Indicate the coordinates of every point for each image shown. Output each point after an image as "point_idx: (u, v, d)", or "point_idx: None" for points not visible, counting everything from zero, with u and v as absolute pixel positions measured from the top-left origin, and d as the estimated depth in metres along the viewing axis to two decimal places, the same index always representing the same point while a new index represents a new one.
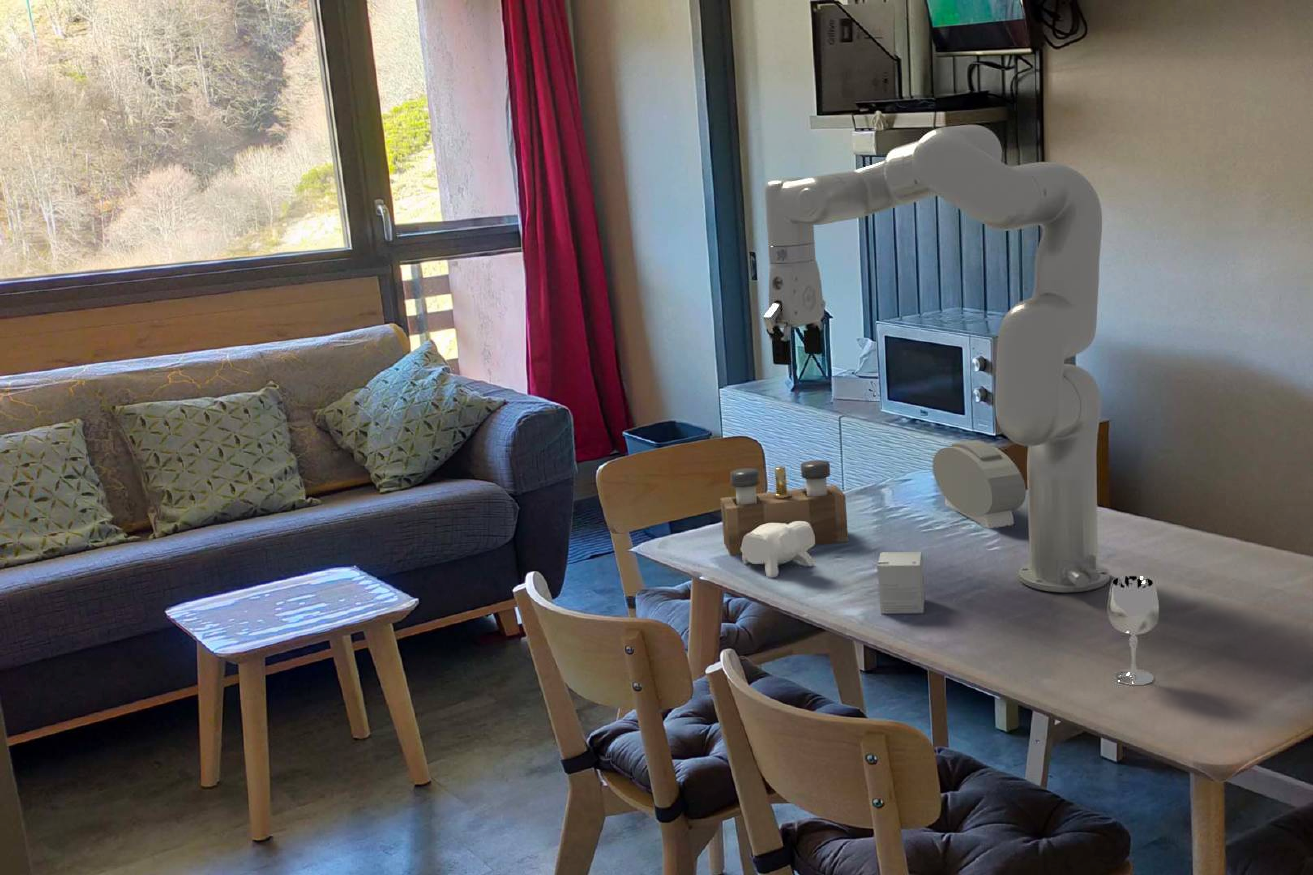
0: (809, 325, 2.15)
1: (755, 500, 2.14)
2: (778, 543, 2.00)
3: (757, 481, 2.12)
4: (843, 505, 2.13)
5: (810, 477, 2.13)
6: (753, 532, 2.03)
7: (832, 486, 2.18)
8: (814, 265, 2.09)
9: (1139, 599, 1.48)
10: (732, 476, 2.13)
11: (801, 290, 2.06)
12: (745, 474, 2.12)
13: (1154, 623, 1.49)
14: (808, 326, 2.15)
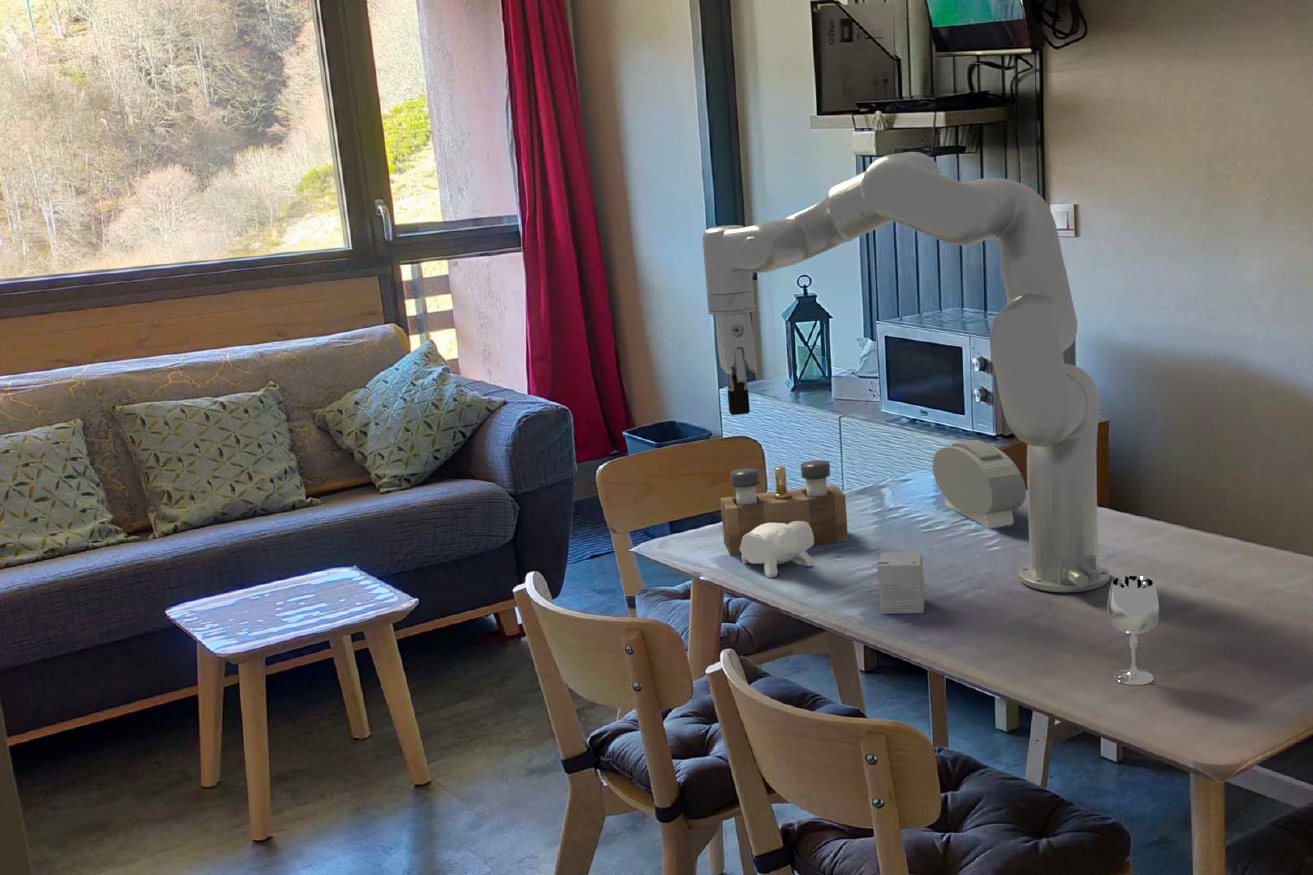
0: None
1: (755, 500, 2.14)
2: (777, 543, 2.00)
3: (757, 481, 2.12)
4: (843, 505, 2.13)
5: (810, 477, 2.13)
6: (752, 532, 2.03)
7: (832, 486, 2.18)
8: None
9: (1139, 599, 1.48)
10: (732, 476, 2.13)
11: None
12: (745, 474, 2.12)
13: (1154, 623, 1.49)
14: None
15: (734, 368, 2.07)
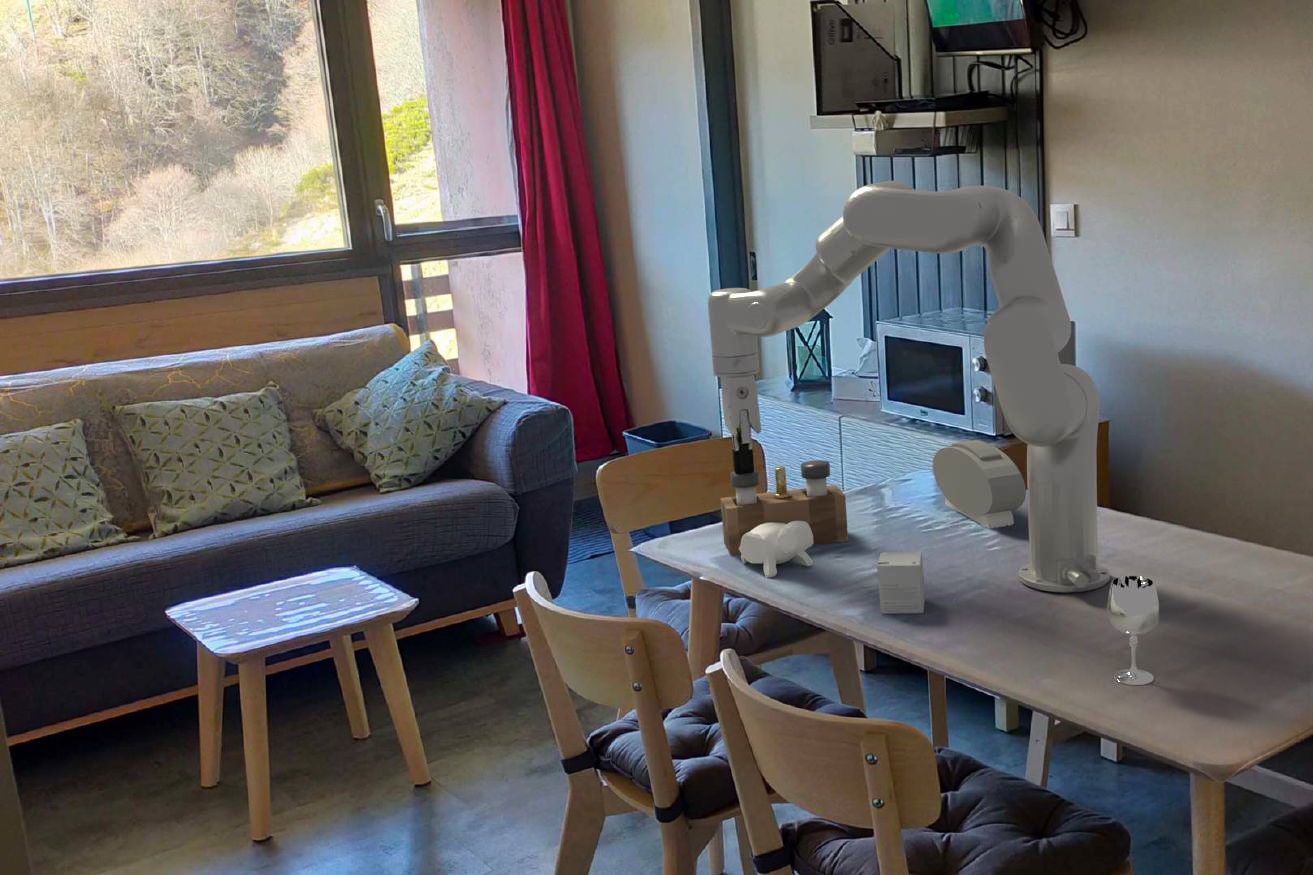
0: None
1: (755, 501, 2.14)
2: (776, 543, 2.00)
3: (757, 482, 2.12)
4: (843, 505, 2.13)
5: (810, 477, 2.13)
6: (752, 532, 2.04)
7: (832, 486, 2.18)
8: None
9: (1139, 599, 1.48)
10: (732, 477, 2.13)
11: None
12: (745, 475, 2.12)
13: (1154, 623, 1.49)
14: None
15: (739, 429, 2.09)
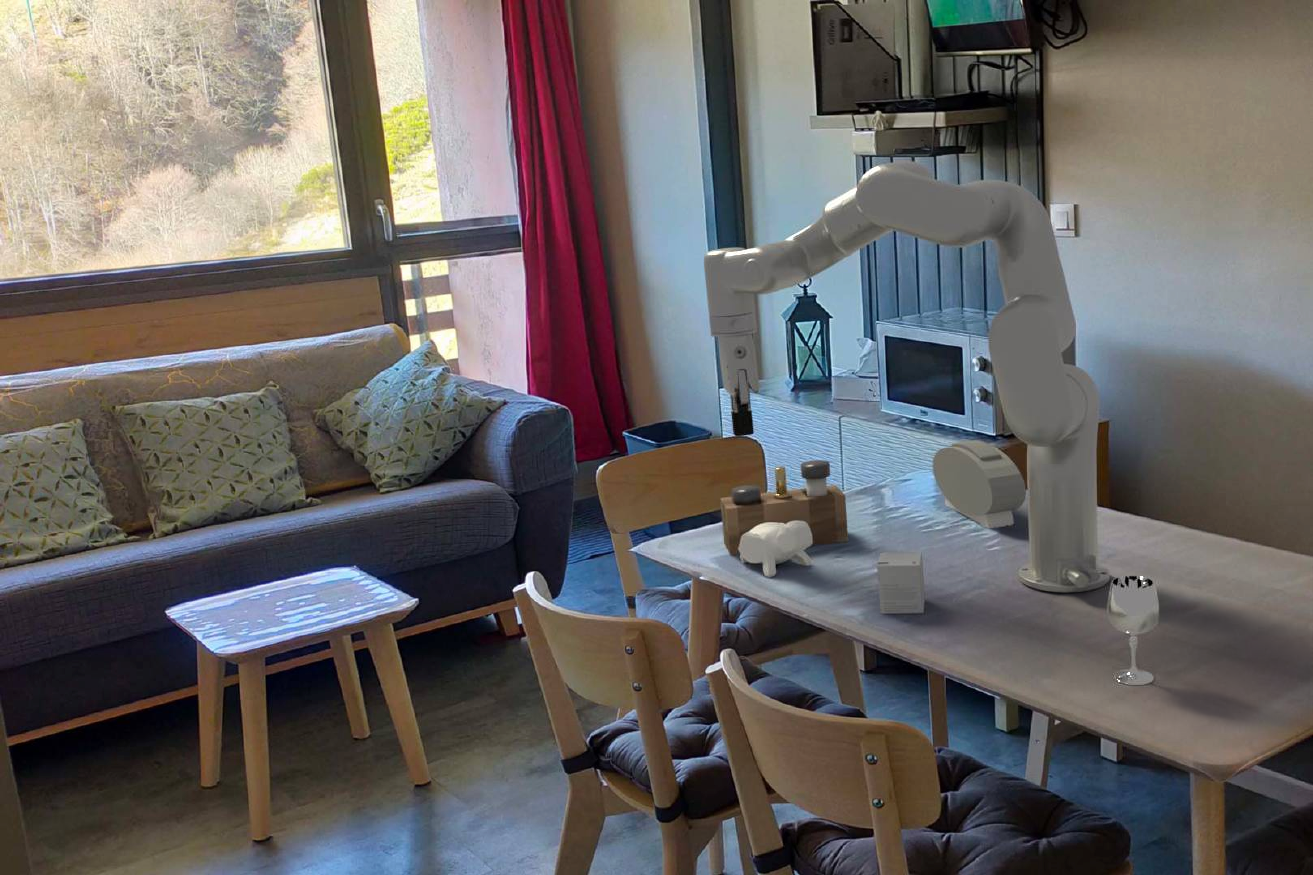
0: None
1: None
2: (776, 542, 2.01)
3: (758, 498, 2.13)
4: (843, 505, 2.13)
5: (810, 477, 2.13)
6: (751, 531, 2.04)
7: (832, 486, 2.18)
8: None
9: (1139, 599, 1.48)
10: (733, 493, 2.13)
11: None
12: (746, 491, 2.12)
13: (1154, 623, 1.49)
14: None
15: (737, 389, 2.07)
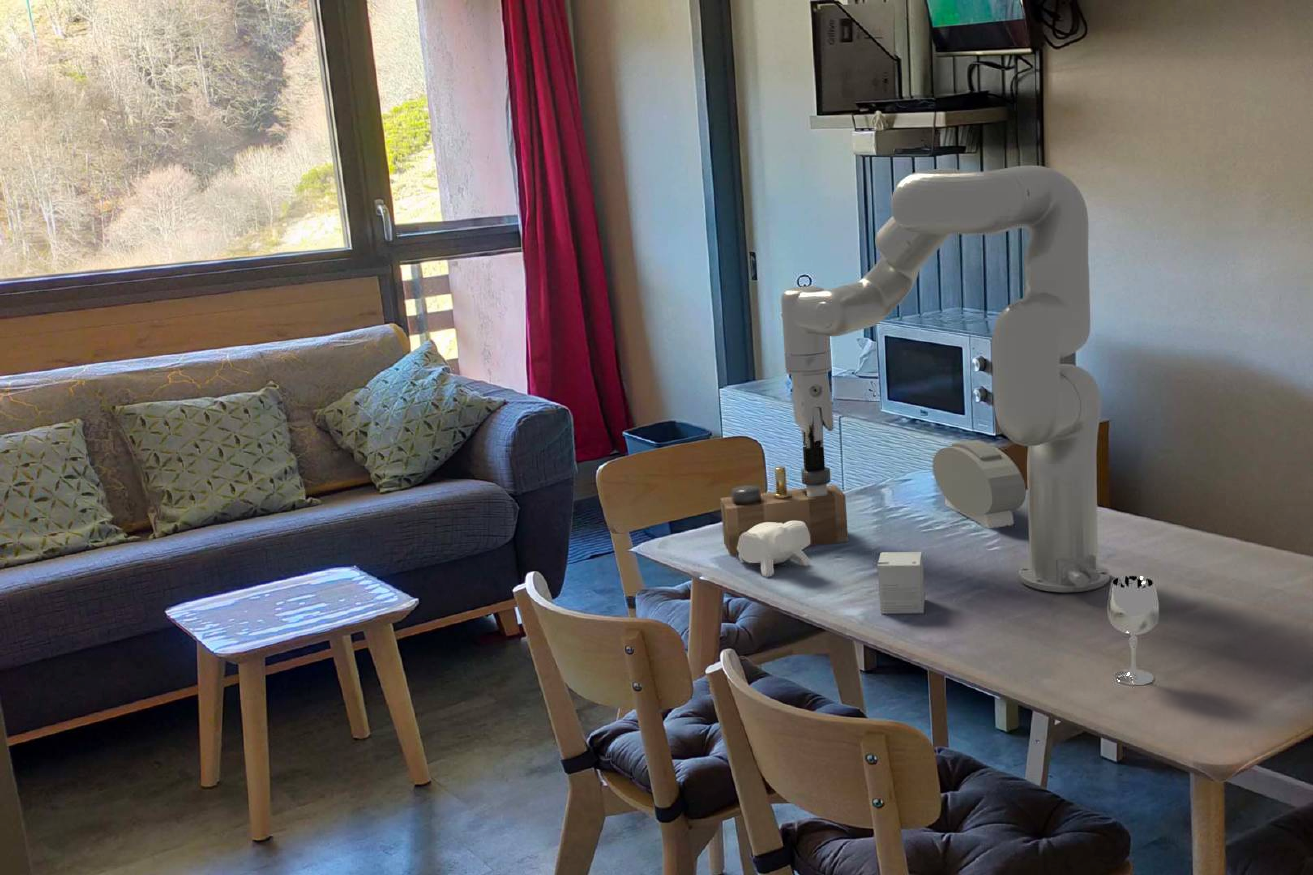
0: None
1: None
2: (774, 542, 2.01)
3: (758, 498, 2.13)
4: (843, 505, 2.13)
5: (810, 483, 2.13)
6: (749, 531, 2.04)
7: (832, 486, 2.18)
8: None
9: (1139, 599, 1.48)
10: (733, 493, 2.13)
11: None
12: (746, 491, 2.12)
13: (1154, 623, 1.49)
14: None
15: (811, 427, 2.10)
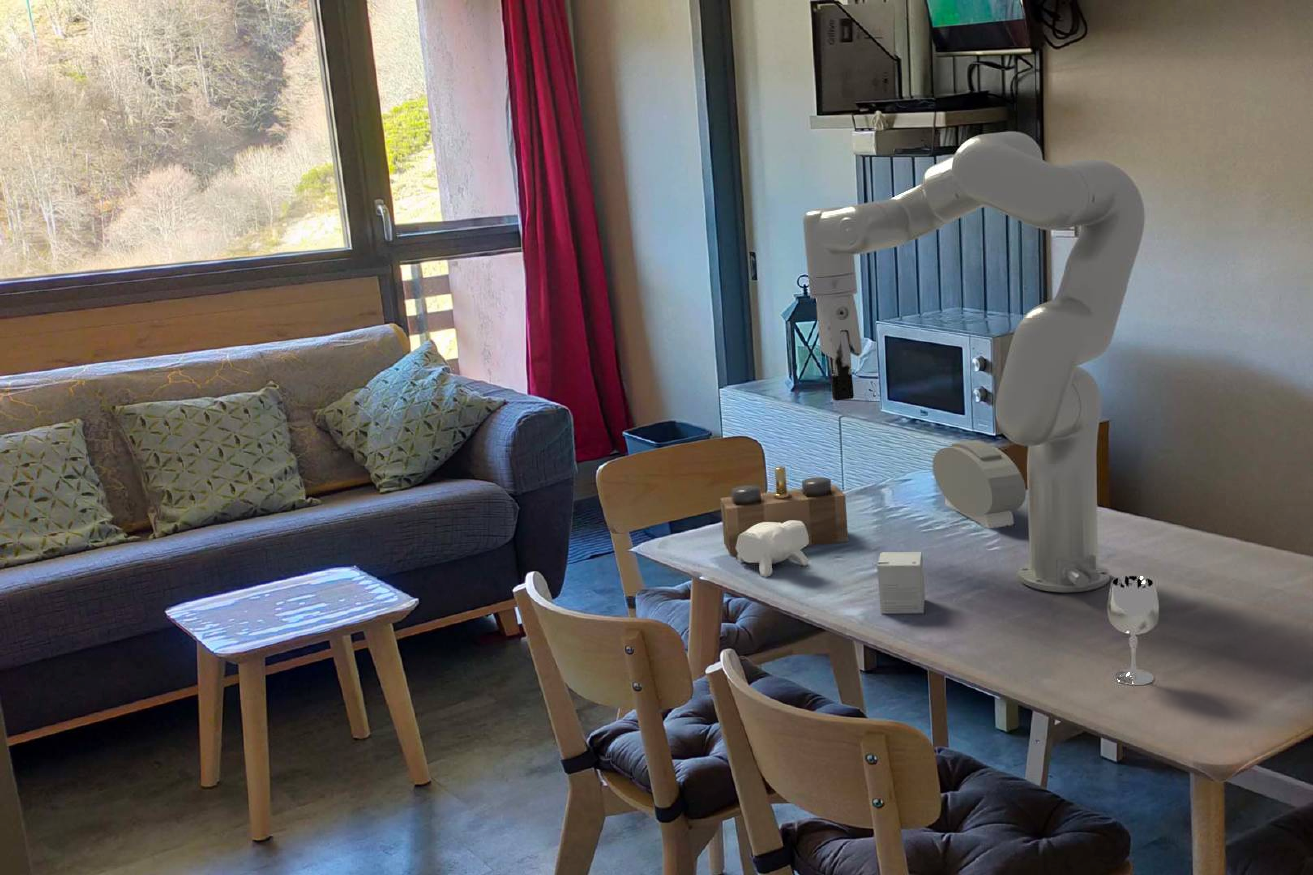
0: None
1: None
2: (772, 542, 2.01)
3: (758, 498, 2.13)
4: (843, 505, 2.13)
5: (811, 494, 2.13)
6: (748, 531, 2.04)
7: (832, 486, 2.18)
8: None
9: (1139, 599, 1.48)
10: (733, 493, 2.13)
11: None
12: (746, 491, 2.12)
13: (1154, 623, 1.49)
14: None
15: (838, 352, 2.03)
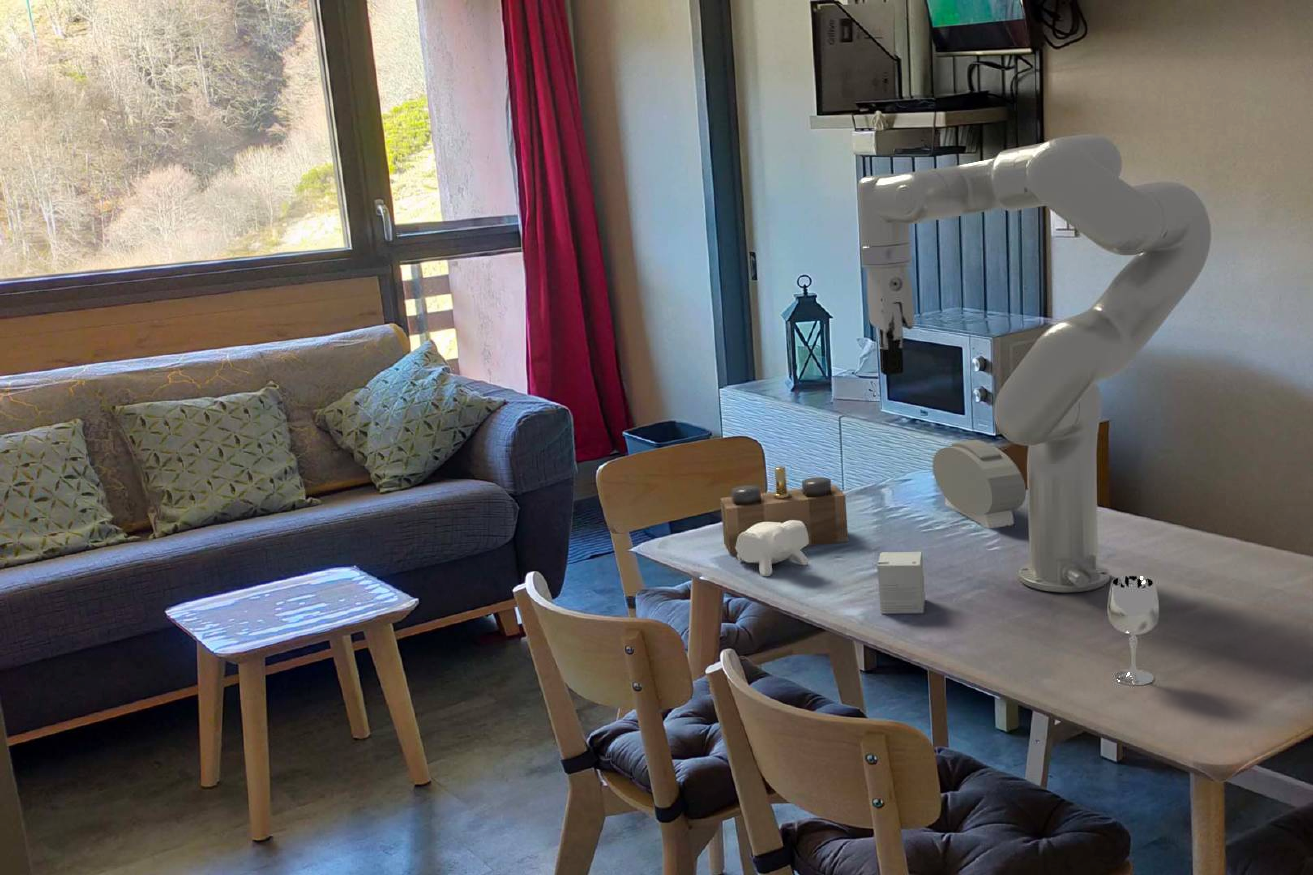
0: None
1: None
2: (772, 542, 2.01)
3: (758, 498, 2.13)
4: (843, 505, 2.13)
5: (811, 494, 2.13)
6: (748, 531, 2.04)
7: (832, 486, 2.18)
8: None
9: (1139, 599, 1.48)
10: (733, 493, 2.13)
11: None
12: (746, 491, 2.12)
13: (1154, 623, 1.49)
14: None
15: (890, 324, 1.96)
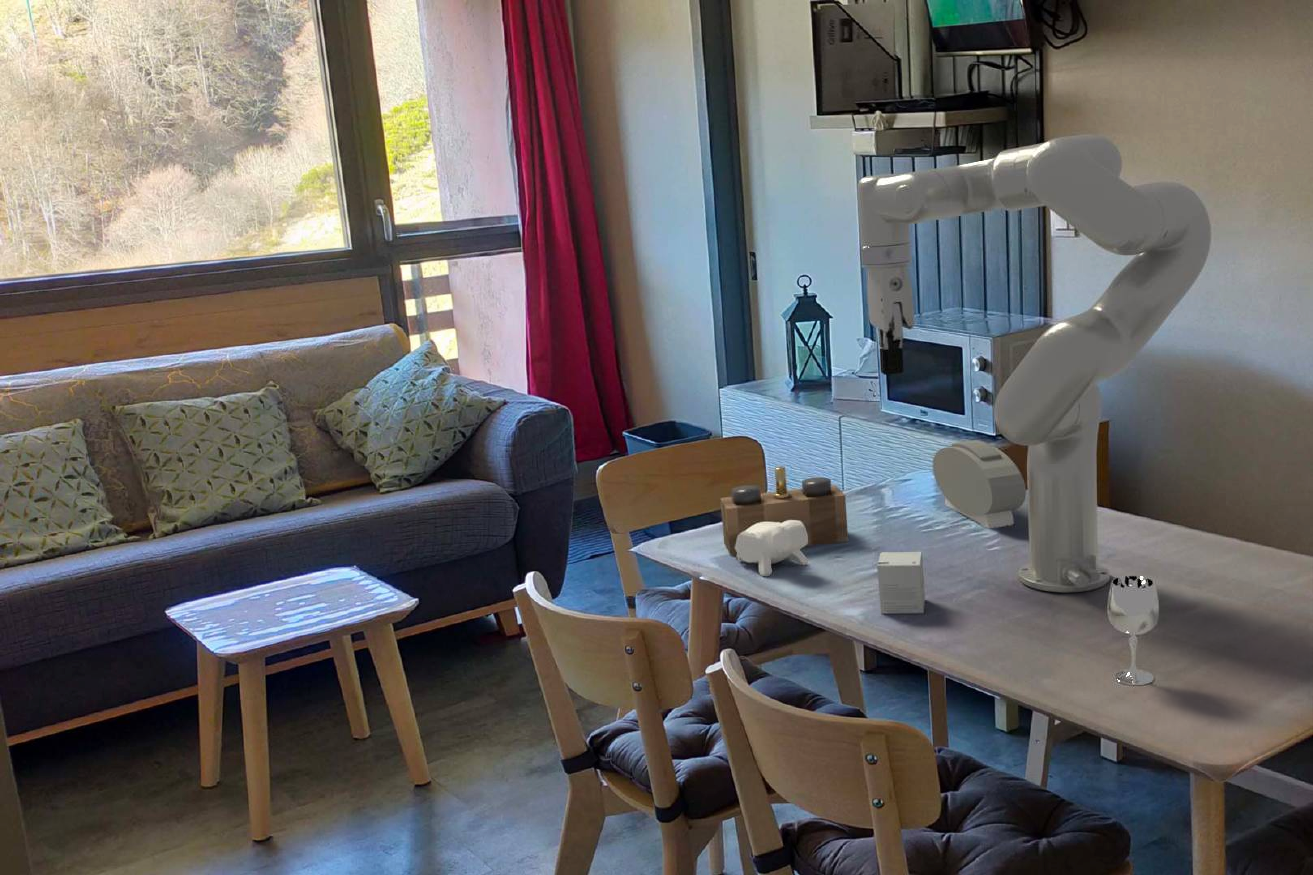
0: None
1: None
2: (771, 542, 2.01)
3: (758, 498, 2.13)
4: (843, 505, 2.13)
5: (811, 494, 2.13)
6: (747, 531, 2.04)
7: (832, 486, 2.18)
8: None
9: (1139, 599, 1.48)
10: (733, 493, 2.13)
11: None
12: (746, 491, 2.12)
13: (1154, 623, 1.49)
14: None
15: (890, 324, 1.96)
